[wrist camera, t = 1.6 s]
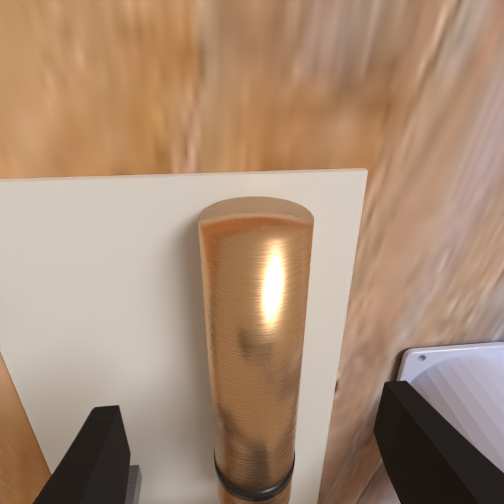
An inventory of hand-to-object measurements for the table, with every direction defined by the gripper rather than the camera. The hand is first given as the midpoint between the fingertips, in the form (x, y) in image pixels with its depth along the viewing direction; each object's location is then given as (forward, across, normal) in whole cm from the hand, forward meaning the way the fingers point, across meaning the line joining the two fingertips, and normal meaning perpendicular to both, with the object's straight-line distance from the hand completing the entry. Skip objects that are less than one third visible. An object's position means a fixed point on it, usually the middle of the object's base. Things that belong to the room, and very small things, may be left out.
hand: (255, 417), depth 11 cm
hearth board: (+9, +3, +10) cm, 14 cm away
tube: (+9, 0, +6) cm, 11 cm away
